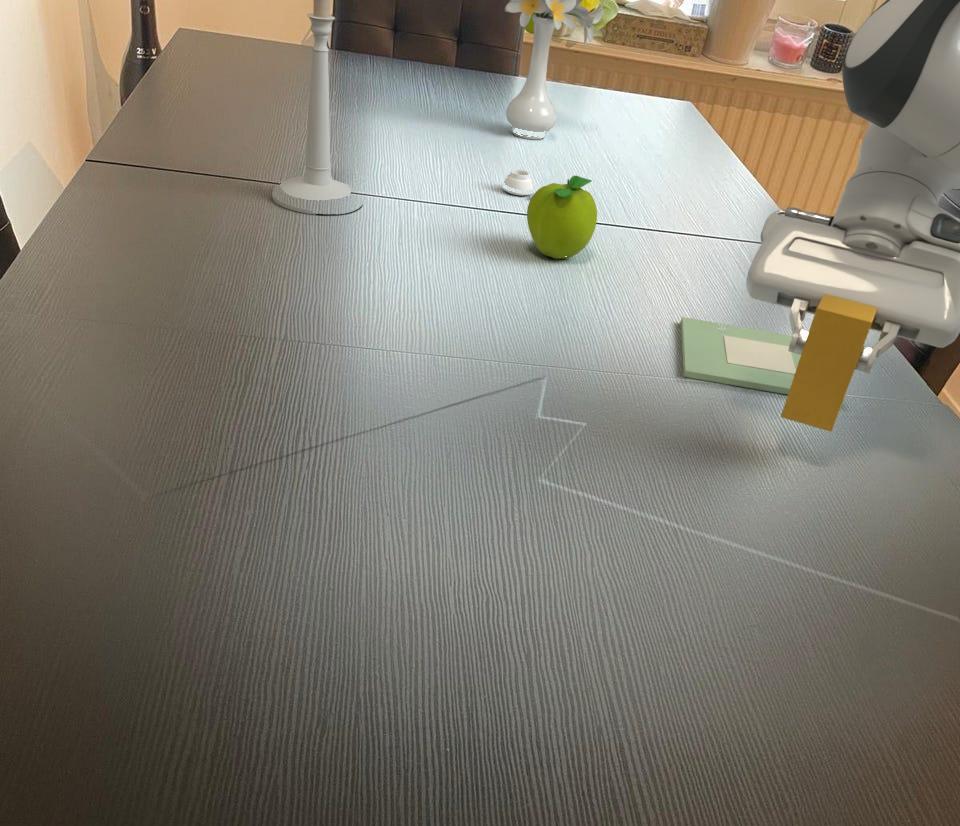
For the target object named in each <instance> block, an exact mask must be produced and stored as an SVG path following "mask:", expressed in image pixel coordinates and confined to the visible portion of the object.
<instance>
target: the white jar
mask: <svg viewBox="0 0 960 826" xmlns="http://www.w3.org/2000/svg"><path fill="white" fill-rule="evenodd" d="M503 182H504V183H505V185H507V186H509V187H511V188H514V189H519V190H532V189H533V187H534V183H533V179H532V178H531V173H530V172H529V171H527V170H523V169H511V170H510V172H509V174H508V175H507V176H506V177H505V179H504V181H503ZM501 188H502V190H504V191H505V192H506V193H508V194H510V195H514V196H522V197H524V196H529V195H533V194H534V193H535V190H534V191H533V192H531V193H516V192H512V191H508V190H506V189H504V188H503V187H501Z"/></svg>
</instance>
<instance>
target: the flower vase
mask: <svg viewBox="0 0 960 826" xmlns="http://www.w3.org/2000/svg"><path fill="white" fill-rule="evenodd" d="M582 2H583V0H509V1H508V2H507V3H506V5H505V7H504V12H506V13H507V12H508V13H513V14H514V13H515V14H517V13H520V17H519V25H520V26H521V27H522V28H525V27H526V26H528V24H529V22H530V20H531V19H532V22H533V42H532V50H531V56H530V62H529V66H528V67H529V68H528V73H527V77H526V80H525V83H524V84H523V87H522V89H520V91H519V93H518V94H517V95H516V96H514V98H513V99H512V100H511V101H510V102H509V103H508V106H507V109H506V111H505V114H506V119H507V122H508V124H509V125H510V124H511V125H512V126H511V127H512V128H514V127H515V128H518V129H522V130H527V131H533V132H544V131H547V132H549V131H550V130H551V129H552V128H553V127H554V126H555V125H556V123H557V120H558V119H557V118H558V116H557V111H556V108H555V106H554V104H553V102H552V100H551V98H550V97H549V93H548V88H547V87H548V86H547V74H548V73H547V71H548V62H549V54H550V47H551V44H552V43H551V42H552V38H553V34H554V32H555V29H556V31H557V30H561V28H562V24H564V25H565V26H566V27H568V29H571V30H576V23H575V20H576V21H577V23H578V24H579V26H580V27H581V28H583V34H584V35H583V36H584V37H583V39H584V40H583V47H584V49H585V48H586V46H587V44H588V43H587V42H589V44H591V43H592V41H593V39H594V35H595V27H594V25H595V24H596V25H597V23H599V22H600V21H601V20H602V18H603V16H604V14H605V10H601V9H602V8H603V7H604V4H605V2H606V0H603V1H602V2H601V3H600V4H599V5H598V6H597V7H595V9H593V10H592V11H589V10H588V8H586V7H585V6H584V5H581V3H582ZM534 13H535V14H534ZM573 18H574V19H575V20H574V19H573ZM548 130H549V131H548ZM516 133H517V132H516ZM516 133H513V132H512V134H513V135H514V136H516V137H519V138H522V139H526V140H537V141H538V140H541V139H540V137H539V136H537V137H534V136H531V137H527V136H528V135H523V134H521V135H523V136H520V135H518V134H516ZM526 137H527V138H526ZM538 137H539V138H538Z"/></svg>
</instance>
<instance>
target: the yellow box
mask: <svg viewBox="0 0 960 826" xmlns="http://www.w3.org/2000/svg"><path fill="white" fill-rule="evenodd" d="M876 311H877V307H874V306H870V305H866V304H863V303H859V302H855V301H851V300H847V299H843V298H839V297H836V296H832V295H828V294H824V296H823V297H822V299H821V301H820V303H819V305H818V307H817V309H816V312H815V315H814V314H813V317H812V321H811V324H810V327H809V330H808V331H809V333H808V336H807V339H806V342H805V345H804V348H803V351H802V354H801V357H800V360H799V363H798V366H797V369H796V372H795V375H794V378H793V381H792V384H791V387H790V390H789V393H788V395H787V396H786V399H785V402H784V405H783V409H782V411H781V414H780V418H783V419H786V420H790V421H793V422H795V423H800V424H802V425H806V426H810V427H813V428H816V429H820V430H823V431H827V432H830V433H831V432H832V431H833V429H834V426H835V424H836V421H837V418H838V416H839V413H840V412H841V408H842V405H843V404H844V401H845V398H844V397H846V395H847V392H848V389H849V386H850V384H851V381H852V379H853V375H854V373H855V371H856V369H855V367H856V364H857V362H858V359H859V356H860V354H861V351H862V348H863V346H865V343H866V341H867V338H868V335H869V332H870V330H871V329H870V327H871V325H872V322H873V319H874V316H875V314H876ZM843 400H844V401H843ZM842 403H843V404H842Z"/></svg>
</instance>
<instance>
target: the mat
mask: <svg viewBox="0 0 960 826" xmlns="http://www.w3.org/2000/svg"><path fill="white" fill-rule="evenodd" d="M719 324H720V325H719ZM722 324H723V325H722ZM721 325H722V326H723V327H722V326H721ZM724 325H725V326H726V327H725V326H724ZM721 327H722V328H723V329H724V327H725V328H726V329H725V332H723V331H724V330H723V329H722V330H723V331H721V330H720V329H721ZM718 328H720V329H719V330H720V331H718V330H717V329H718ZM727 329H728V330H727ZM721 332H722V333H721ZM680 333H681V334H680V337H681V353H682V372H683V378H688V379H695V380H701V381H706V382H712V383H719V384H722V385H723V384H725V385H729V386H736V387H742V388H746V389H747V388H748V389H751V390H757V391H758V390H759V391H763V392H764V391H765V392H770V393H776V394H782V395H787V396H788V393H789V390H790V387H791V384H792V381H793V378H794V375H795V372H796V369H797V366H798V363H799V360H800V357H801V355H800V354H797V353H793V352H789V351H788V350H789V346H790V342H791V340H792V337H793V335H791V334H784V333H779V332H773V331H766V330H761V329H755V328H750V327H745V326H744V327H743V326H737V325H732V324H725V323H720V322H713V321H707V320H702V319H696V318H691V317H684V316H681V319H680ZM845 397H846V396H845ZM845 397H844V400H843V403H842V405H843V404H844V401H845Z"/></svg>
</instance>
